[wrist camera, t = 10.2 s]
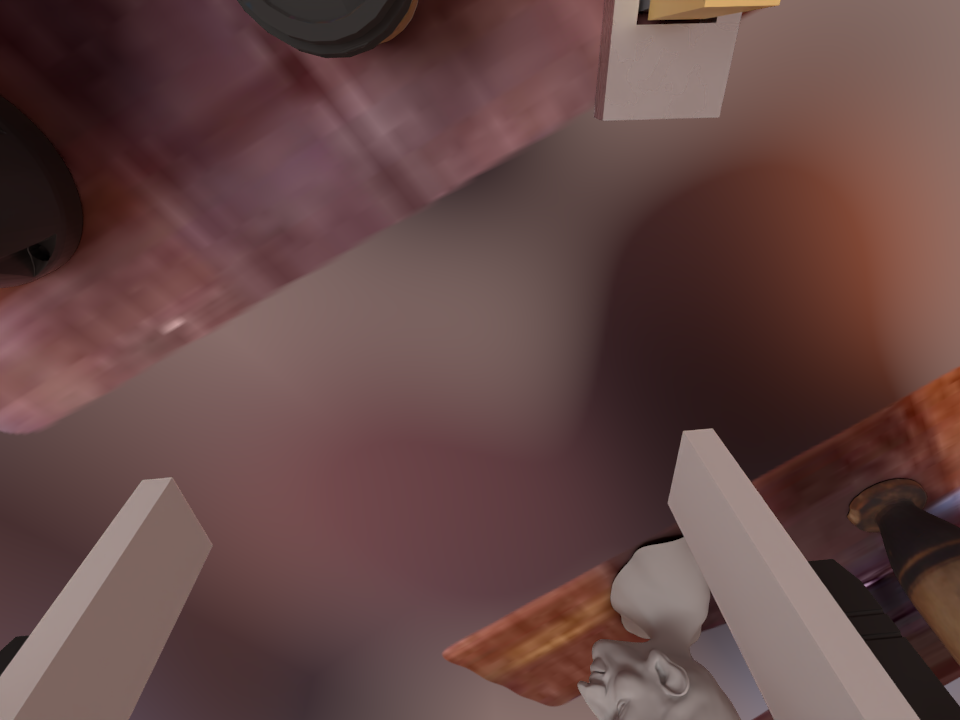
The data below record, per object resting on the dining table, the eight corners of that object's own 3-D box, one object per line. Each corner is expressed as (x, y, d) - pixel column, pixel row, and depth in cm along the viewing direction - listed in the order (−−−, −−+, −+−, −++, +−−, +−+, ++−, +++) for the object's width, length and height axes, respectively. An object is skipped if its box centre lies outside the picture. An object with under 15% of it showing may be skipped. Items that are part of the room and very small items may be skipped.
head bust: (562, 540, 60) (619, 803, 38) (715, 530, 60) (856, 787, 38) (557, 633, 71) (598, 875, 50) (684, 625, 71) (780, 863, 50)
